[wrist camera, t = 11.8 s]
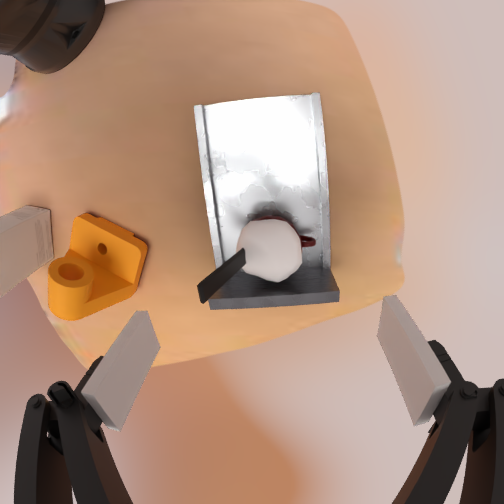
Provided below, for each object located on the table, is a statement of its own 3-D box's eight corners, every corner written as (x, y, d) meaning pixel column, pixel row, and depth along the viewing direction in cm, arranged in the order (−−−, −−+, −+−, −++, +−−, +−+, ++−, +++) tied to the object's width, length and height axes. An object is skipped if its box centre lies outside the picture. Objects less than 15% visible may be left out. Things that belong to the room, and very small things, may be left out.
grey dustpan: (198, 108, 26) (177, 97, 20) (316, 96, 25) (329, 80, 18) (222, 278, 33) (210, 309, 27) (327, 271, 32) (339, 301, 25)
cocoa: (315, 222, 29) (348, 263, 18) (296, 273, 31) (314, 336, 20) (230, 197, 29) (211, 224, 17) (215, 251, 31) (192, 306, 19)
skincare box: (27, 204, 32) (-45, 235, 17) (52, 209, 32) (-27, 245, 17) (31, 252, 35) (-32, 293, 20) (56, 260, 35) (-11, 309, 20)
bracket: (151, 242, 32) (100, 287, 21) (138, 287, 35) (94, 340, 24) (86, 209, 31) (24, 238, 20) (78, 254, 34) (25, 292, 23)
